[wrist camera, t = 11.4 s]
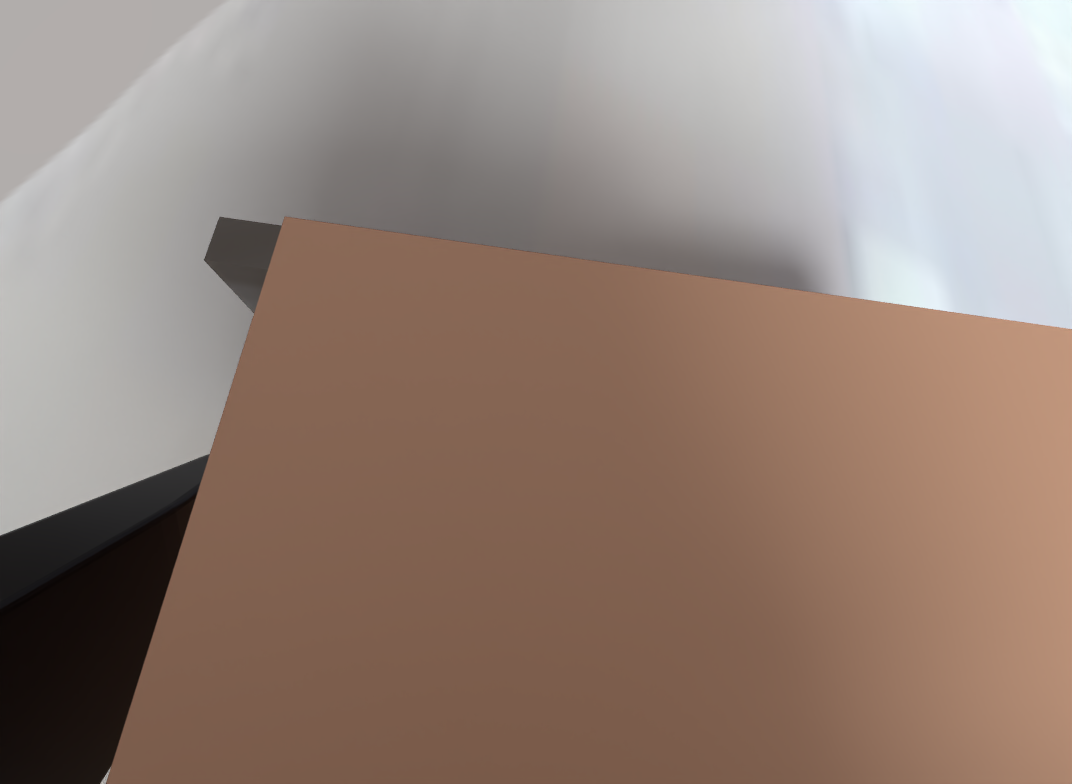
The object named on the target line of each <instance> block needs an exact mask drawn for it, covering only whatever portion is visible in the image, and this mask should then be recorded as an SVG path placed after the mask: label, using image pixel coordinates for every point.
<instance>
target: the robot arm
mask: <svg viewBox="0 0 1072 784" xmlns="http://www.w3.org/2000/svg"><path fill="white" fill-rule="evenodd" d="M209 455H210V454H208V455H205V456H203V457H200V458H198V459H195V460H193V461H190V462H187V463H185V464H182V465H180V466H177V467H175V468H172V469H170V470H167V471H164V472H162V473H159V474H157V475H154V476H152V477H149V478H146V479H144V480H141V481H139V482H136V483H134V484H131V485H129V486H126V487H123V488H121V489H118V490H116V491H113V492H111V493H108V494H105V495H103V496H100V497H98V498H95V499H93V500H90V501H88V502H85V503H82V504H80V505H77V506H75V507H72V508H70V509H67V510H65V511H62V512H59V513H57V514H54V515H52V516H49V517H47V518H44V519H41V520H39V521H36V522H34V523H31V524H29V525H26V526H24V527H21V528H18V529H16V530H13V531H11V532H8V533H6V534H3V535H1V536H0V784H100V783H101V781H102V780H103V778H104V777H105V775H106V773H107V772H108V770H109V769H110V767H111V766H112V763H113V760H114V757H115V754H116V750H117V747H118V744H119V741H120V738H121V734H122V731H123V728H124V725H125V722H126V719H127V715H128V712H129V709H130V706H131V703H132V700H133V696H134V693H135V690H136V687H137V684H138V681H139V677H140V674H141V671H142V668H143V665H144V661H145V658H146V655H147V652H148V649H149V646H150V642H151V639H152V636H153V633H154V630H155V627H156V623H157V620H158V617H159V614H160V611H161V608H162V604H163V601H164V598H165V595H166V592H167V588H168V585H169V582H170V579H171V576H172V573H173V569H174V566H175V563H176V560H177V557H178V554H179V550H180V547H181V544H182V541H183V538H184V535H185V531H186V528H187V525H188V522H189V519H190V515H191V512H192V509H193V506H194V503H195V500H196V496H197V493H198V490H199V487H200V484H201V481H202V477H203V474H204V471H205V468H206V465H207V462H208V458H209Z"/></svg>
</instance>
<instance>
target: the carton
mask: <svg viewBox="0 0 1072 784" xmlns="http://www.w3.org/2000/svg"><path fill="white" fill-rule="evenodd" d="M106 784H1072V329H1066V328H1059V327H1052V326H1045V325H1038V324H1031V323H1024V322H1017V321H1010V320H1003V319H996V318H989V317H982V316H975V315H968V314H961V313H954V312H947V311H940V310H933V309H926V308H919V307H912V306H905V305H899V304H892V303H885V302H878V301H871V300H864V299H857V298H850V297H843V296H836V295H829V294H822V293H815V292H808V291H801V290H794V289H787V288H780V287H773V286H766V285H759V284H752V283H745V282H738V281H731V280H724V279H717V278H710V277H703V276H696V275H689V274H682V273H675V272H668V271H661V270H654V269H647V268H640V267H633V266H626V265H619V264H612V263H605V262H598V261H591V260H584V259H577V258H570V257H563V256H556V255H550V254H543V253H536V252H529V251H522V250H515V249H508V248H501V247H494V246H487V245H480V244H473V243H466V242H459V241H452V240H445V239H438V238H431V237H424V236H417V235H410V234H403V233H396V232H389V231H382V230H375V229H368V228H361V227H354V226H347V225H340V224H333V223H326V222H319V221H312V220H305V219H298V218H291V217H284V220H283V223H282V227H281V230H280V233H279V236H278V239H277V243H276V246H275V249H274V252H273V255H272V258H271V262H270V265H269V268H268V271H267V274H266V277H265V281H264V284H263V287H262V290H261V293H260V296H259V300H258V303H257V306H256V309H255V312H254V316H253V319H252V322H251V325H250V328H249V331H248V335H247V338H246V341H245V344H244V347H243V350H242V354H241V357H240V360H239V363H238V366H237V369H236V373H235V376H234V379H233V382H232V385H231V389H230V392H229V395H228V398H227V401H226V404H225V408H224V411H223V414H222V417H221V420H220V423H219V427H218V430H217V433H216V436H215V439H214V442H213V446H212V449H211V452H210V455H209V458H208V462H207V465H206V468H205V471H204V474H203V477H202V481H201V484H200V487H199V490H198V493H197V496H196V500H195V503H194V506H193V509H192V512H191V515H190V519H189V522H188V525H187V528H186V531H185V535H184V538H183V541H182V544H181V547H180V550H179V554H178V557H177V560H176V563H175V566H174V569H173V573H172V576H171V579H170V582H169V585H168V588H167V592H166V595H165V598H164V601H163V604H162V608H161V611H160V614H159V617H158V620H157V623H156V627H155V630H154V633H153V636H152V639H151V642H150V646H149V649H148V652H147V655H146V658H145V661H144V665H143V668H142V671H141V674H140V677H139V681H138V684H137V687H136V690H135V693H134V696H133V700H132V703H131V706H130V709H129V712H128V715H127V719H126V722H125V725H124V728H123V731H122V734H121V738H120V741H119V744H118V747H117V750H116V754H115V757H114V760H113V763H112V766H111V769H110V773H109V776H108V779H107V782H106Z"/></svg>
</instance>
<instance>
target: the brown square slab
mask: <svg viewBox="0 0 1072 784" xmlns="http://www.w3.org/2000/svg"><path fill="white" fill-rule="evenodd" d="M281 227H282V226H279V225H272V224H265V223H259V222H252V221H245V220H238V219H231V218H224V217H219V220H218V223H217V225H216V228H215V231H214V234H213V237H212V239H211V242H210V245H209V248H208V251H207V253H206V256H205V259H204V261H205V262H206V263H207V264H208V265H209V266H210V267H211V268H212V269H213V270H214V271H215V272H216V273H217V274H218V275H219V277H220V278H221V279H222V280H223V281H224V282H225V283H226V284H227V285H228V286H229V287H230V288H231V289H232V290H233V291H234V292H235V294H236V295H237V296H238V297H239V298H240V299H241V300H242V301H243V302H244V303H245V304H246V305H247V306H248V307H249V308H250V310H251V311H252V312H253V313H254V312H255V309H256V306H257V303H258V300H259V296H260V293H261V290H262V287H263V284H264V281H265V277H266V274H267V271H268V268H269V265H270V262H271V258H272V255H273V252H274V249H275V246H276V243H277V239H278V236H279V233H280V230H281Z"/></svg>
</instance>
